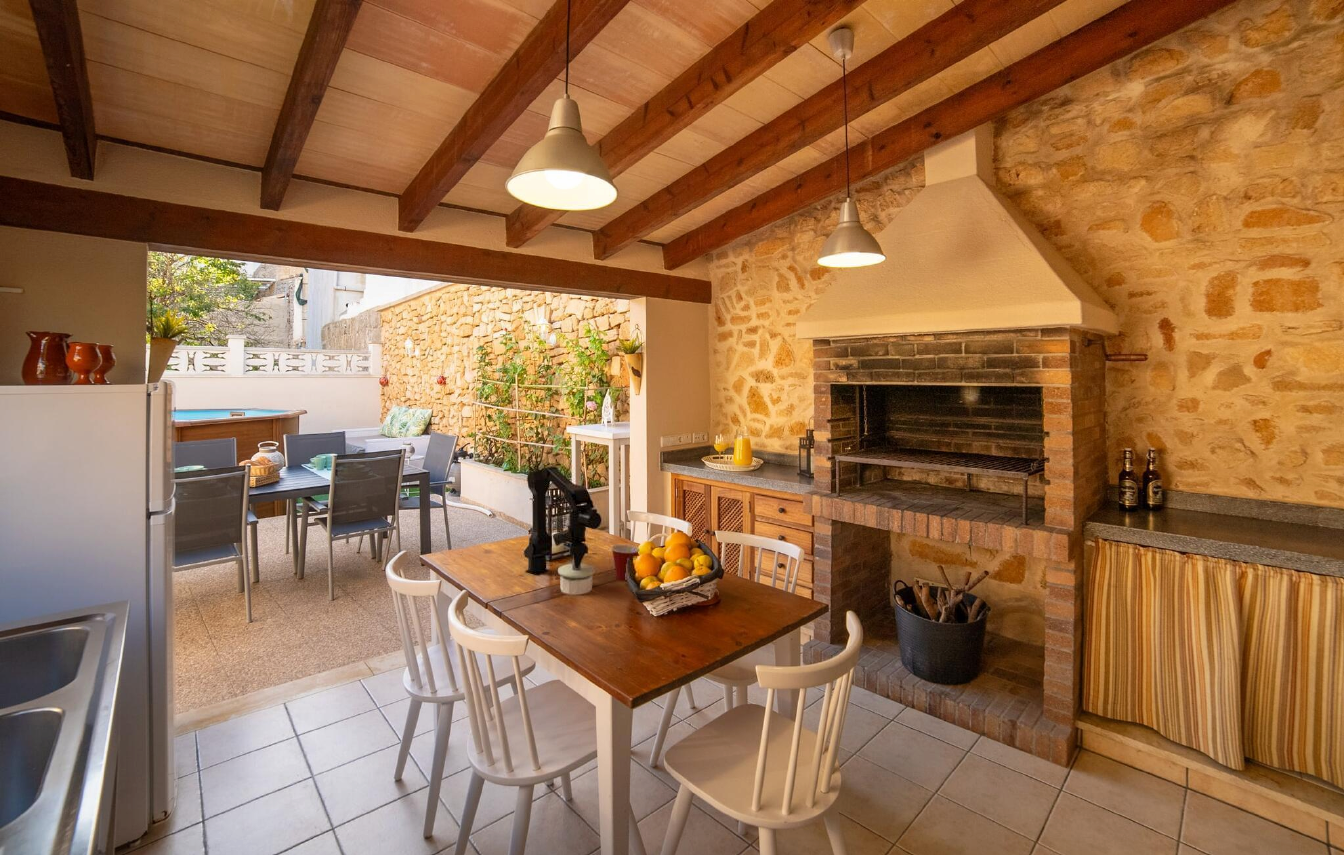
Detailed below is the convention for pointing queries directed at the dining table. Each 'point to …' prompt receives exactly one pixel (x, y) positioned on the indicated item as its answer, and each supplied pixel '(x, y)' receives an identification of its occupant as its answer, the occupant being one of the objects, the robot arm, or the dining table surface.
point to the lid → (576, 570)
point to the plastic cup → (622, 558)
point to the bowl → (576, 585)
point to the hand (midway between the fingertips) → (576, 566)
